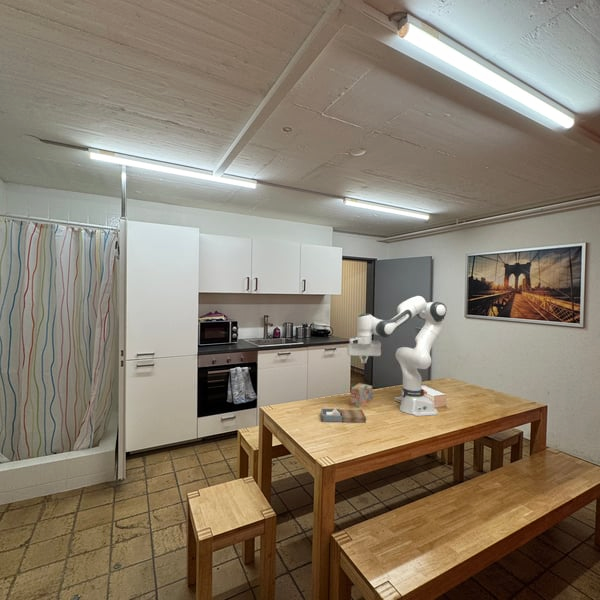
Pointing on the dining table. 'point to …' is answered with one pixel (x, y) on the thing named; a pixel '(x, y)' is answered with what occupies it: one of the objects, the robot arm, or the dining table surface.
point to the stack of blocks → (361, 395)
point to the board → (352, 416)
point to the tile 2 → (335, 412)
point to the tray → (330, 418)
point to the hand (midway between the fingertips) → (363, 362)
